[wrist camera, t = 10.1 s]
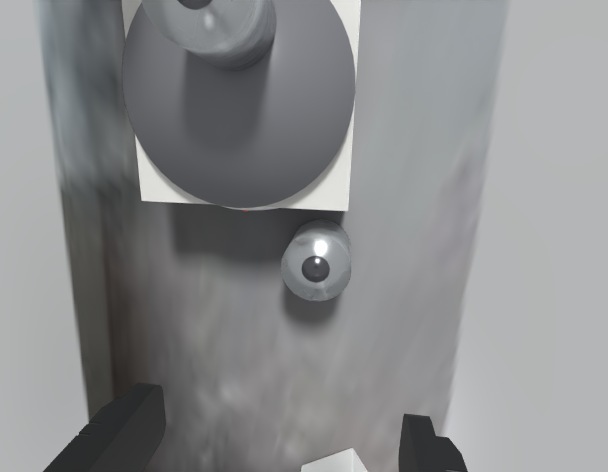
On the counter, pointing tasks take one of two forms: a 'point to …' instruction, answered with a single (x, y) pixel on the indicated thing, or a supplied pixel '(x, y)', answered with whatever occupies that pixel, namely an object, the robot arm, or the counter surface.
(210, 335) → the counter surface
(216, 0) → the steel spacer
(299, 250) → the cylinder
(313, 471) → the milk
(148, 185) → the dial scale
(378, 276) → the counter surface
